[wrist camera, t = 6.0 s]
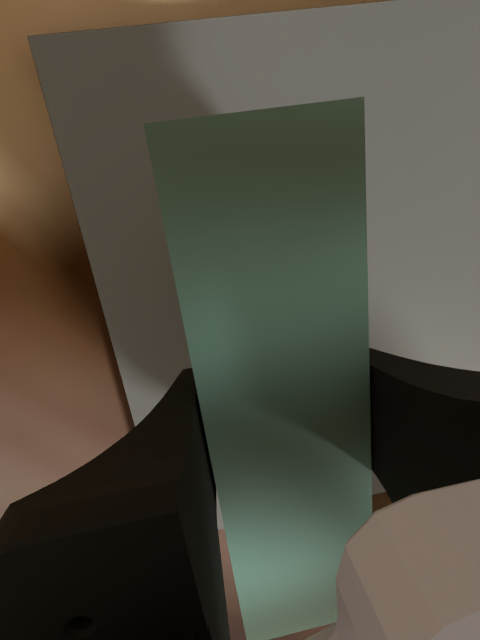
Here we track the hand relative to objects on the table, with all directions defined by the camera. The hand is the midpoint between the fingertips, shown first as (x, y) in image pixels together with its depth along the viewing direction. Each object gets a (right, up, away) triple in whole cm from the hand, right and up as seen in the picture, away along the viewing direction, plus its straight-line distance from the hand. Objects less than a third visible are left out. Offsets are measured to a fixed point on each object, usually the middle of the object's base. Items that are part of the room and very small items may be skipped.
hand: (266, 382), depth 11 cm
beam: (0, 0, +1) cm, 1 cm away
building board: (+6, +3, +7) cm, 10 cm away
